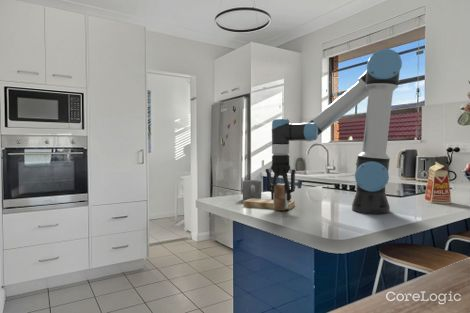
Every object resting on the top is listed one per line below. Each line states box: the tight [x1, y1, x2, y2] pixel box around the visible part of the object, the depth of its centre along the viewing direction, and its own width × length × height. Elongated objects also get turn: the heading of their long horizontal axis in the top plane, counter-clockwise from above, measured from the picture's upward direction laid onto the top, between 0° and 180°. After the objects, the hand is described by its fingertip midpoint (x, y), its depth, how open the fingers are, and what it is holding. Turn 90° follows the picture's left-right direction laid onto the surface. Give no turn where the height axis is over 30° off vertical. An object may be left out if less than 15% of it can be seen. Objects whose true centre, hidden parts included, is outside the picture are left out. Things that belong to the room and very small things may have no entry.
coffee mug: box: [242, 179, 262, 201], centre depth 170 cm, size 13×10×10 cm
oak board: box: [242, 198, 296, 211], centre depth 152 cm, size 22×10×3 cm, turn 66°
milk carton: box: [423, 161, 452, 205], centre depth 161 cm, size 9×9×20 cm
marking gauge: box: [273, 182, 286, 212], centre depth 147 cm, size 4×16×11 cm, turn 156°
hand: (280, 207), depth 142 cm, fingers closed on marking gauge, 4 cm apart
